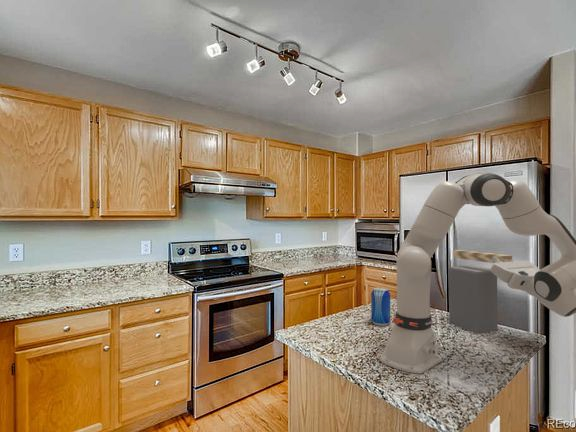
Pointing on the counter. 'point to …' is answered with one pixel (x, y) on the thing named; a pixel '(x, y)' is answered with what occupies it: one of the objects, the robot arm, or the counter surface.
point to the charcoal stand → (473, 299)
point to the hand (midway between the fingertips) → (498, 257)
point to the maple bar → (481, 256)
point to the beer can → (380, 306)
